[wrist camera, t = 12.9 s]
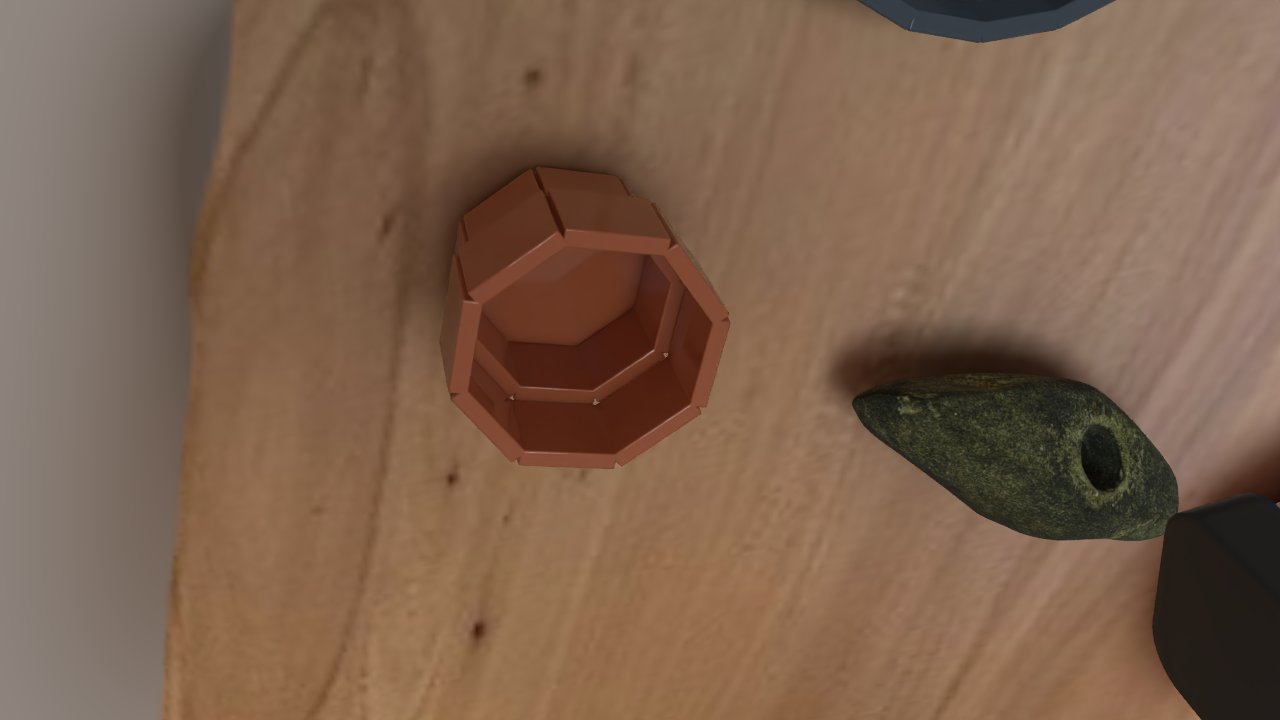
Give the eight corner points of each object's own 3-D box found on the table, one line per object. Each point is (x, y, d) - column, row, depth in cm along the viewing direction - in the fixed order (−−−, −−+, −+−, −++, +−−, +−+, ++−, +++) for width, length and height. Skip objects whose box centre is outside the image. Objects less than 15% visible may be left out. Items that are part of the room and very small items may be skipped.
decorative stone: (1169, 286, 37) (1279, 371, 32) (1121, 480, 41) (1213, 578, 37) (832, 335, 35) (903, 433, 30) (817, 535, 39) (878, 644, 35)
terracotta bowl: (420, 352, 32) (436, 463, 28) (452, 132, 29) (475, 218, 25) (641, 367, 34) (688, 472, 29) (693, 162, 31) (753, 247, 26)
